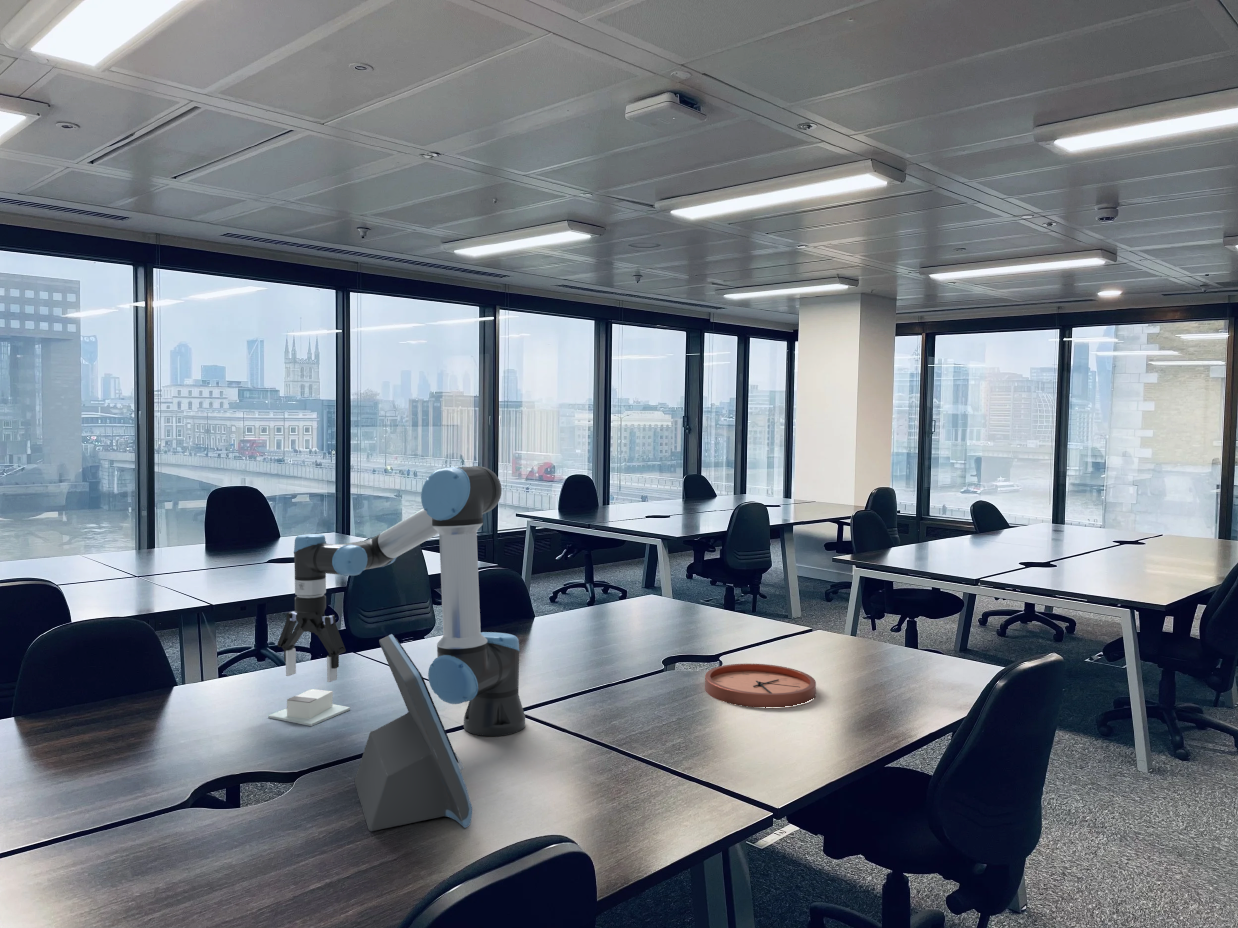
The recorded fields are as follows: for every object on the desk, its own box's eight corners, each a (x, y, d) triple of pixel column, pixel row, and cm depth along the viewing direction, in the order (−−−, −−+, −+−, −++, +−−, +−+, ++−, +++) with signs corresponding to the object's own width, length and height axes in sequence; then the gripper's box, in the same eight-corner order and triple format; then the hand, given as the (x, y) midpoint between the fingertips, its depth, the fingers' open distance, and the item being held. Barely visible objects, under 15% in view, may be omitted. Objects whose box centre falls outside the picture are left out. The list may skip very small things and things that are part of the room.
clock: (717, 659, 267) (821, 669, 257) (717, 671, 267) (820, 683, 257) (693, 686, 238) (809, 700, 227) (693, 701, 238) (808, 715, 228)
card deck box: (310, 703, 227) (310, 688, 226) (332, 706, 225) (332, 690, 225) (286, 715, 217) (287, 699, 217) (309, 718, 215) (309, 701, 215)
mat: (350, 709, 225) (350, 707, 225) (311, 725, 212) (311, 723, 212) (308, 701, 230) (308, 699, 230) (268, 717, 217) (268, 715, 217)
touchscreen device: (481, 826, 160) (477, 667, 158) (373, 848, 152) (367, 681, 151) (442, 759, 192) (439, 626, 191) (351, 774, 184) (346, 636, 183)
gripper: (262, 593, 221) (263, 675, 222) (338, 601, 211) (339, 687, 212) (284, 589, 228) (285, 668, 229) (359, 596, 218) (360, 679, 219)
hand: (311, 677), depth 220 cm, fingers open, 13 cm apart
